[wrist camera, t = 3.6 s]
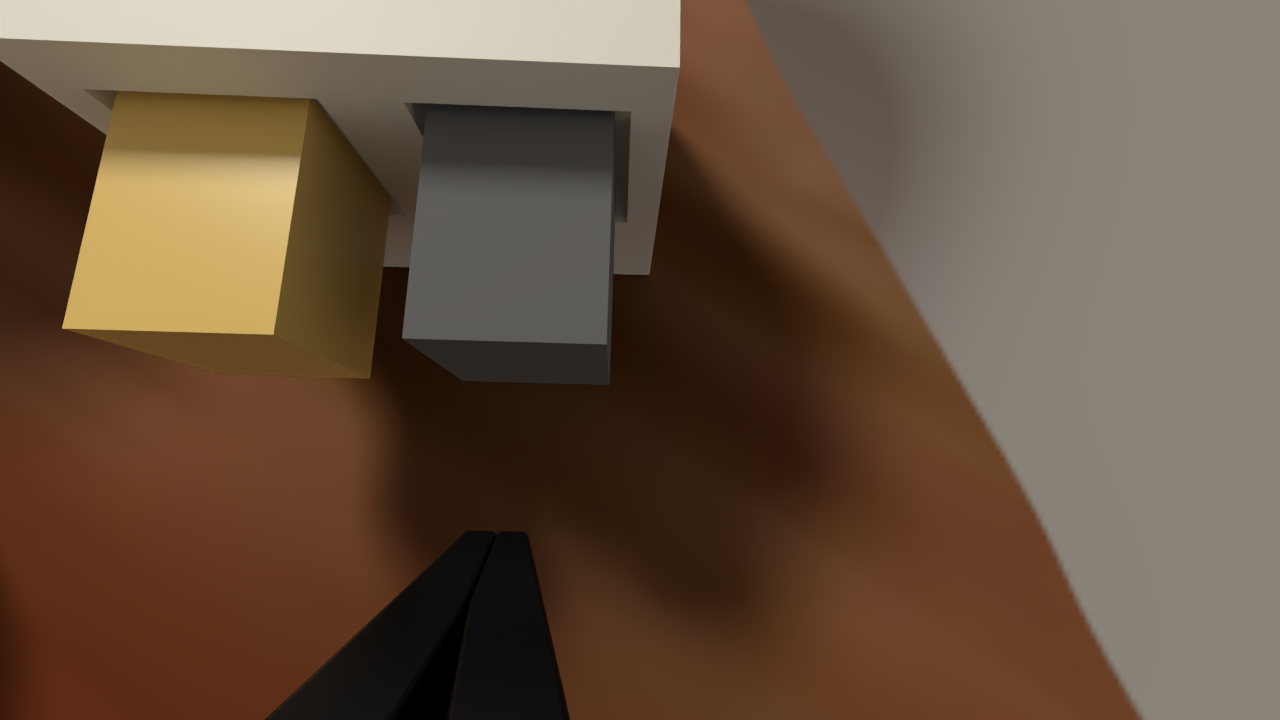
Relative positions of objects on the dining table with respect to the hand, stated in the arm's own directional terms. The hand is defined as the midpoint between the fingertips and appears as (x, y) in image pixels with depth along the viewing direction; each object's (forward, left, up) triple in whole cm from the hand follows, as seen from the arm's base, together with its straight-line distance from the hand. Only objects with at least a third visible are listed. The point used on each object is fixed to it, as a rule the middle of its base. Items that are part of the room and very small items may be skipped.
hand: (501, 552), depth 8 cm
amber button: (+7, +5, -5) cm, 10 cm away
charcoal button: (+6, -1, -5) cm, 7 cm away
